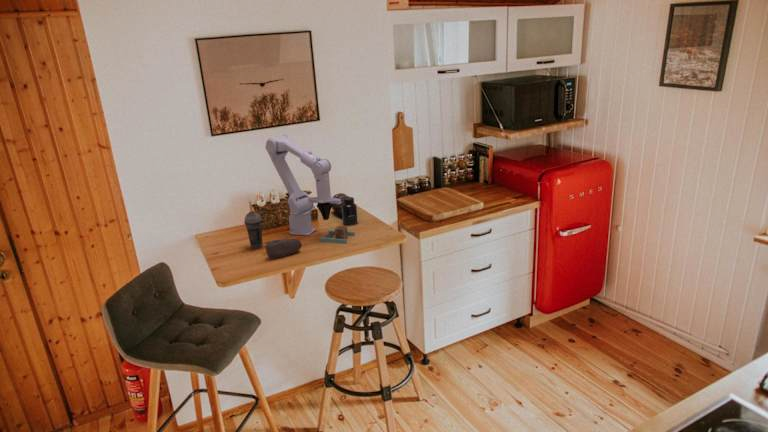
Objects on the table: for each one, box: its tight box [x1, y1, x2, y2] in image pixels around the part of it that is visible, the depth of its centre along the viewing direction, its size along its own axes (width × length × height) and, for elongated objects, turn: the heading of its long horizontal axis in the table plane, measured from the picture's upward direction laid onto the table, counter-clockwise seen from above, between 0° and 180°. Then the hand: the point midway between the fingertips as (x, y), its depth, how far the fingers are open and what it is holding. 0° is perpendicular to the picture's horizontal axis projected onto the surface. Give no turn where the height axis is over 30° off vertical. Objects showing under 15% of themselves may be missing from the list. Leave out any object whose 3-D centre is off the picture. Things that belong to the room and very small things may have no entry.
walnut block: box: [334, 225, 349, 239], centre depth 225 cm, size 4×4×5 cm
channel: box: [319, 229, 355, 244], centre depth 226 cm, size 12×10×2 cm
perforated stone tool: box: [264, 238, 303, 259], centre depth 211 cm, size 15×5×7 cm, turn 115°
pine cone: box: [331, 192, 350, 219], centre depth 254 cm, size 10×18×10 cm, turn 30°
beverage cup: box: [244, 200, 263, 250], centre depth 219 cm, size 7×7×20 cm
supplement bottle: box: [341, 196, 358, 226], centre depth 242 cm, size 7×7×12 cm
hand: (326, 219), depth 225 cm, fingers closed
